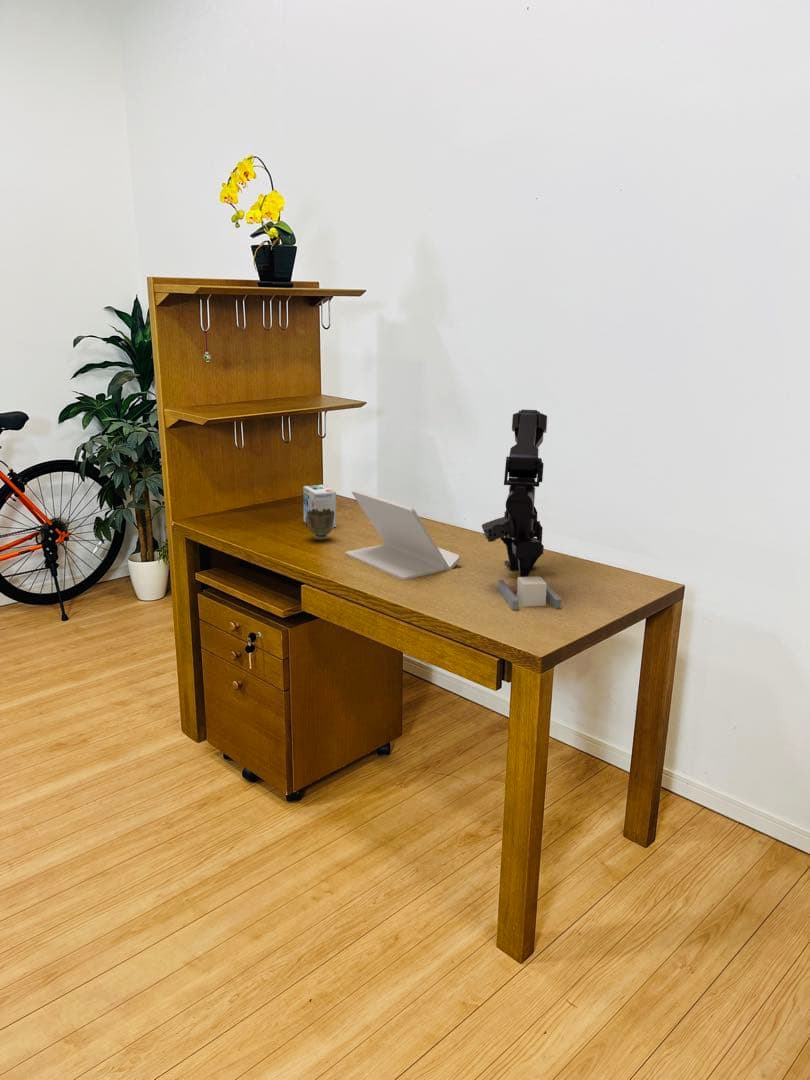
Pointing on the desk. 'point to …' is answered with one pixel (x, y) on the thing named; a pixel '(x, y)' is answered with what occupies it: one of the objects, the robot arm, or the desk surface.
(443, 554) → the tablet stand
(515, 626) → the desk surface
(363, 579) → the desk surface
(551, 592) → the u-shaped bracket
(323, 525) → the cup
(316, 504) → the light bulb box
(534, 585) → the cream block
